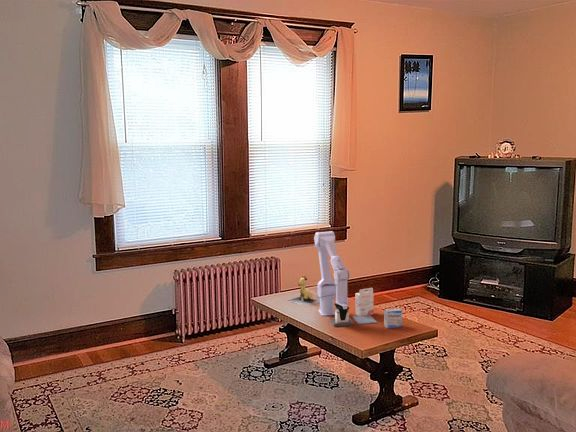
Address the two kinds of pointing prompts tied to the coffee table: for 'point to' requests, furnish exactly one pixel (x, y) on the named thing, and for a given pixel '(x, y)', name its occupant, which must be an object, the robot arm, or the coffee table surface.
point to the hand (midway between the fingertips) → (341, 318)
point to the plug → (337, 317)
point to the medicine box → (393, 318)
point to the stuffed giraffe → (304, 294)
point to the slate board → (364, 319)
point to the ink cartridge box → (364, 302)
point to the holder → (341, 323)
